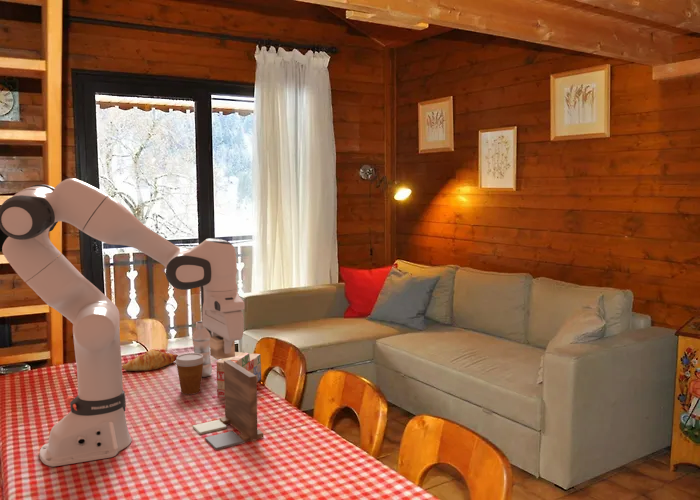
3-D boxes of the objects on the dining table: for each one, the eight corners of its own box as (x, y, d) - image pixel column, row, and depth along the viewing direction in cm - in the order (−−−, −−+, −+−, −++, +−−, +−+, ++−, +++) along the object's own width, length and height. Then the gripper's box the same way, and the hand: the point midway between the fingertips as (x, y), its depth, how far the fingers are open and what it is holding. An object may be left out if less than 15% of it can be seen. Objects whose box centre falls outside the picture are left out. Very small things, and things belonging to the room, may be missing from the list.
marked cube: (217, 359, 163) (216, 340, 162) (210, 355, 167) (209, 336, 166) (235, 356, 166) (234, 337, 165) (227, 352, 170) (227, 333, 169)
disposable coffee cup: (170, 394, 206) (169, 359, 204) (187, 385, 215) (186, 351, 213) (194, 397, 203) (193, 362, 201) (210, 388, 211) (209, 354, 210)
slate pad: (216, 450, 163) (216, 447, 163) (205, 439, 170) (205, 437, 170) (244, 442, 168) (244, 440, 168) (232, 432, 174) (232, 430, 174)
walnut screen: (244, 442, 168) (242, 378, 166) (219, 421, 183) (217, 362, 181) (264, 437, 171) (263, 374, 169) (237, 417, 186) (236, 358, 184)
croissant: (125, 383, 228) (127, 366, 224) (117, 364, 234) (119, 348, 231) (181, 371, 241) (183, 355, 237) (172, 354, 247) (174, 338, 243)
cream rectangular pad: (200, 434, 173) (199, 432, 173) (192, 427, 178) (192, 425, 178) (226, 428, 178) (226, 426, 178) (219, 421, 183) (218, 419, 183)
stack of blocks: (245, 377, 223) (244, 344, 222) (261, 379, 221) (261, 345, 220) (217, 398, 203) (216, 361, 201) (234, 399, 201) (233, 363, 199)
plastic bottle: (210, 379, 221) (208, 324, 219) (191, 379, 221) (189, 324, 219) (214, 373, 227) (212, 320, 225) (195, 373, 228) (194, 320, 225)
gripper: (195, 294, 171) (197, 343, 173) (224, 307, 154) (225, 361, 156) (217, 292, 175) (218, 340, 176) (247, 304, 158) (248, 357, 159)
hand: (222, 350), depth 166 cm, fingers closed on marked cube, 5 cm apart
